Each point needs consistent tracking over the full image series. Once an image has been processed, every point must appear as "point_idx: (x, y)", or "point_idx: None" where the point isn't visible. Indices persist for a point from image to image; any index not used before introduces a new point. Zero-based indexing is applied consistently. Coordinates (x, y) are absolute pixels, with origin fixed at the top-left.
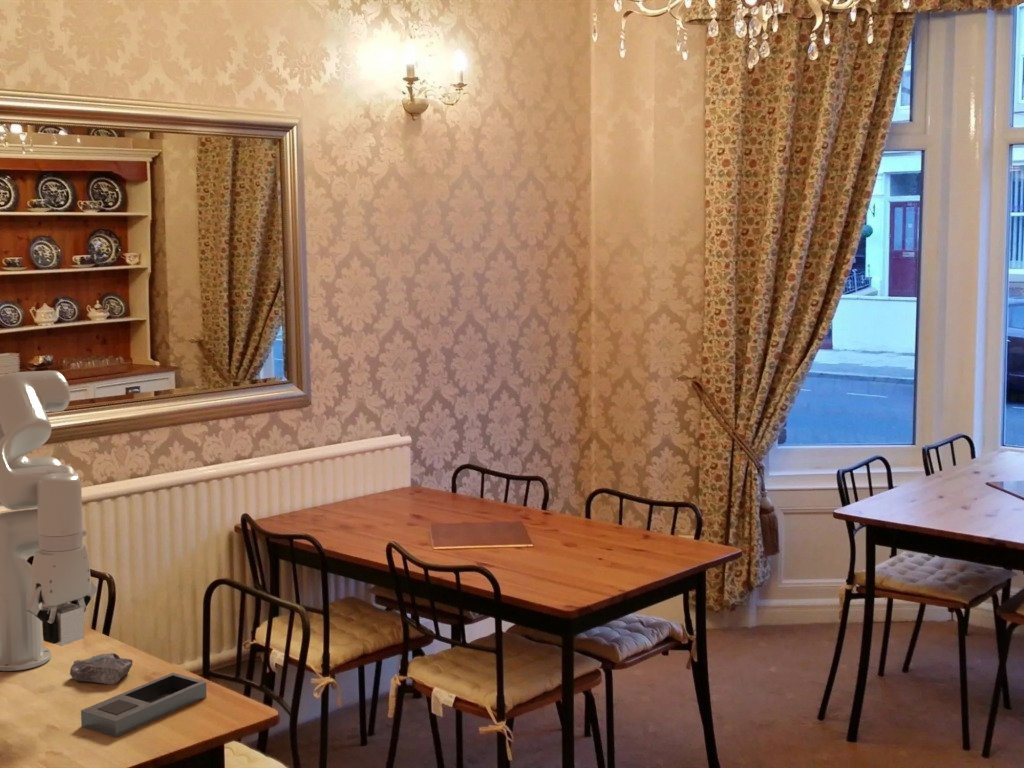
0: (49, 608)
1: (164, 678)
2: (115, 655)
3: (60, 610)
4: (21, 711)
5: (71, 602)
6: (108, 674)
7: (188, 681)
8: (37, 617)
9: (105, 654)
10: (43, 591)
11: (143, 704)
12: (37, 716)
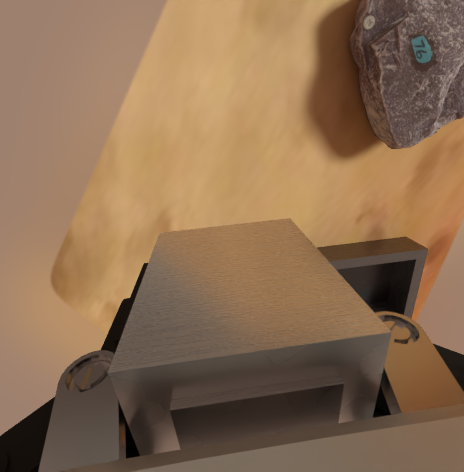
0: (168, 398)
1: (396, 261)
2: None
3: None
4: (158, 99)
5: (387, 398)
6: (381, 125)
7: (405, 292)
8: (23, 419)
9: None
10: None
11: None
12: (169, 157)
